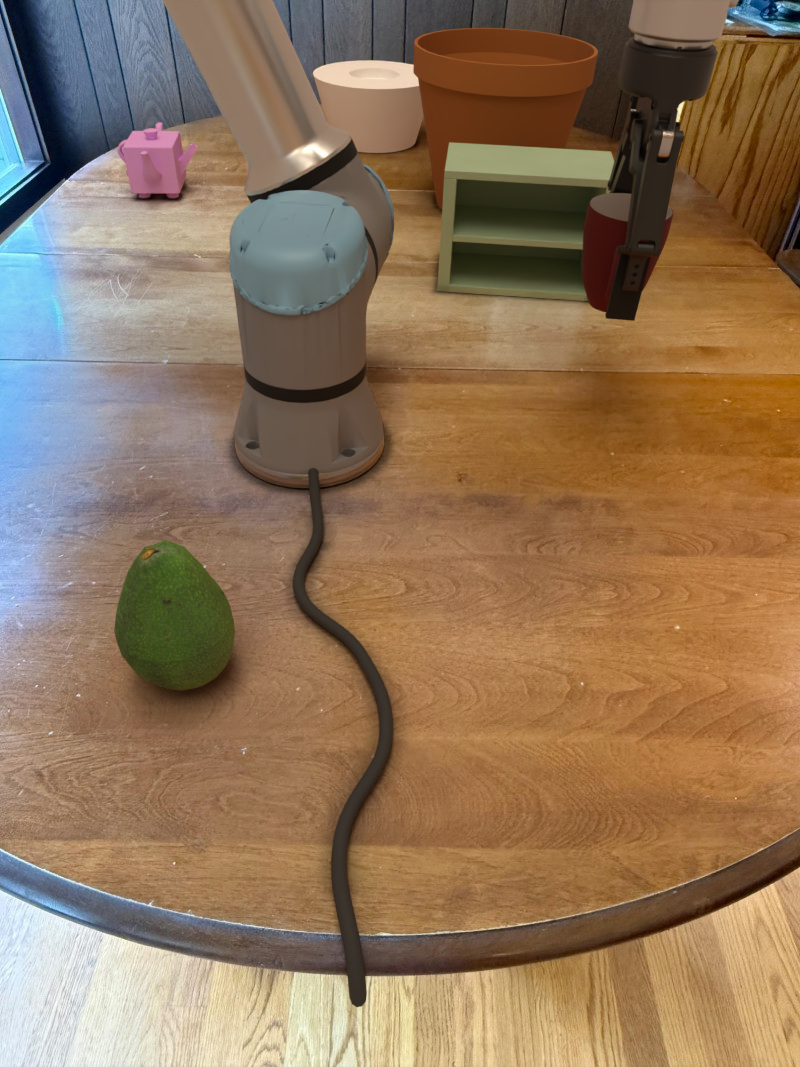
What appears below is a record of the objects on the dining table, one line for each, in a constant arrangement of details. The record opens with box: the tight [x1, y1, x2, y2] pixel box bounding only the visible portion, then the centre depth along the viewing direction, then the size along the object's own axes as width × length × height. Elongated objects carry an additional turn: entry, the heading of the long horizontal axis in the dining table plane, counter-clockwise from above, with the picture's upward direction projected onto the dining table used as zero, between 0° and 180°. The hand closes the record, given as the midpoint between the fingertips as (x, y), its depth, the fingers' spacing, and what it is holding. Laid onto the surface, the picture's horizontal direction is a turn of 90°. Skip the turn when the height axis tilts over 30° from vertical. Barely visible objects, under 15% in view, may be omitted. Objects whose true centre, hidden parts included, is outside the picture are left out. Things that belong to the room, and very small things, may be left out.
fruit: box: [113, 539, 236, 691], centre depth 54 cm, size 8×8×12 cm
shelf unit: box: [436, 142, 615, 302], centre depth 106 cm, size 12×22×16 cm, turn 85°
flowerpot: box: [413, 27, 599, 210], centre depth 126 cm, size 28×28×24 cm
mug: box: [582, 193, 674, 313], centre depth 77 cm, size 11×8×10 cm
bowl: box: [312, 59, 424, 154], centre depth 156 cm, size 24×24×12 cm
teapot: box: [117, 121, 199, 199], centre depth 130 cm, size 18×13×10 cm
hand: (613, 292), depth 79 cm, fingers closed on mug, 10 cm apart
